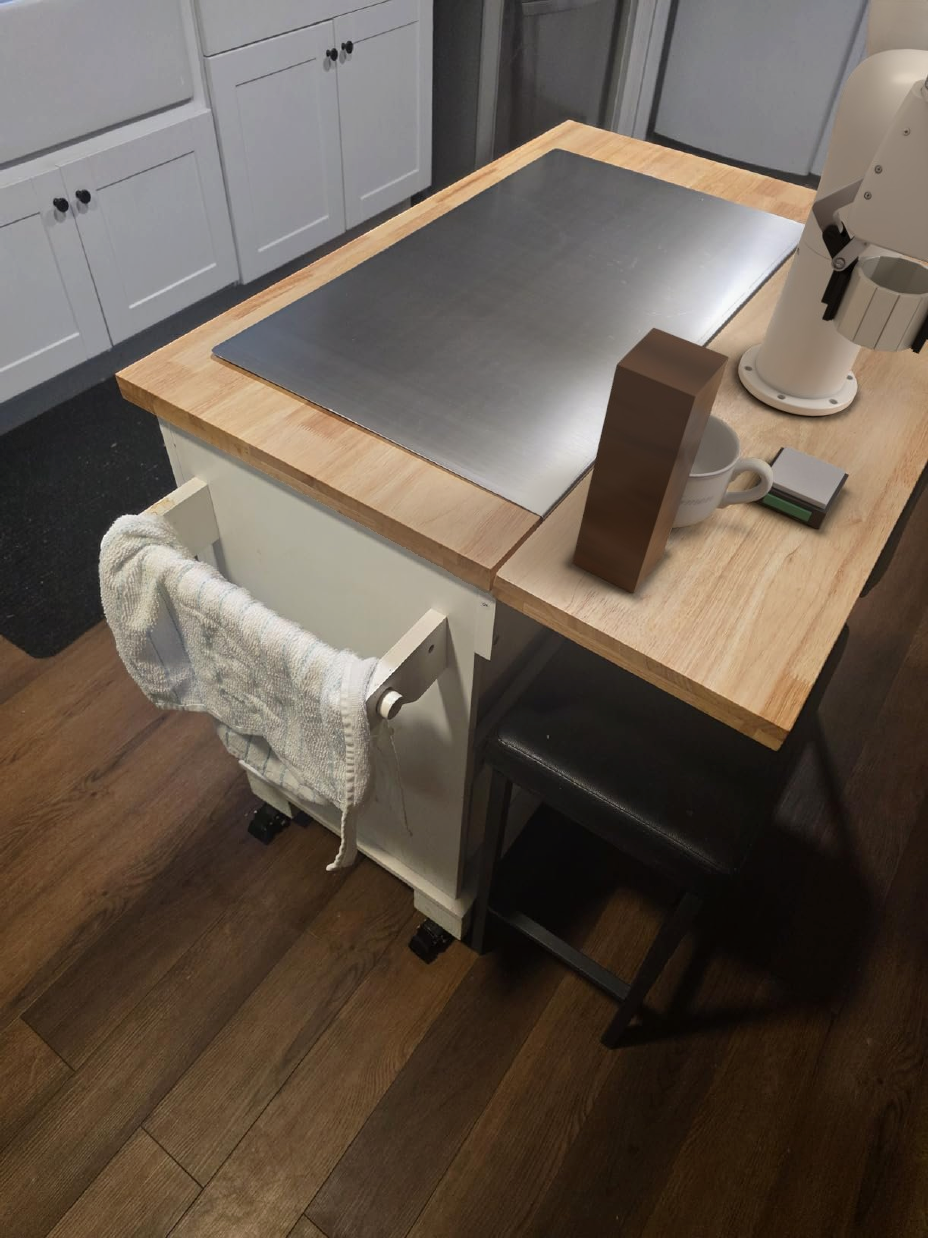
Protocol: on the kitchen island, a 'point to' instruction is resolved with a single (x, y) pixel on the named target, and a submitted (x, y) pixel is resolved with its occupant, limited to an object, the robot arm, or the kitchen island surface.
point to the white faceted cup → (884, 303)
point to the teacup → (719, 475)
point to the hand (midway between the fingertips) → (875, 327)
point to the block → (646, 455)
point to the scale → (803, 486)
